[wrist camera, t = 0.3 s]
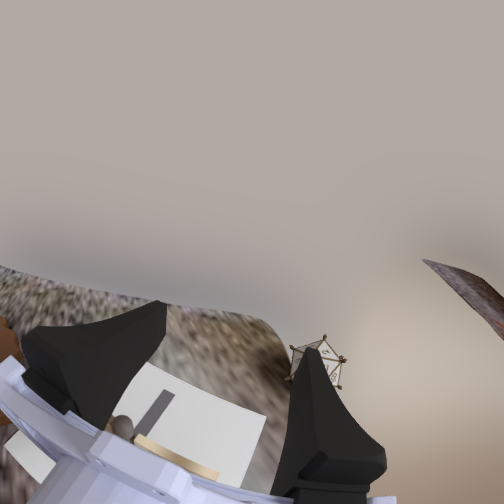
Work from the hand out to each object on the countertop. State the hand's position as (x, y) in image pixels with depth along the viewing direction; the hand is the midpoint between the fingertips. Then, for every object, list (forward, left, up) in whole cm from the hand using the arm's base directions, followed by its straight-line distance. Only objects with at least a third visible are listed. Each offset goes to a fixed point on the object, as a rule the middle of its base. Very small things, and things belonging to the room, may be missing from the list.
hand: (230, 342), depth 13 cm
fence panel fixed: (-2, +2, -20) cm, 20 cm away
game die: (+18, -9, -21) cm, 29 cm away
